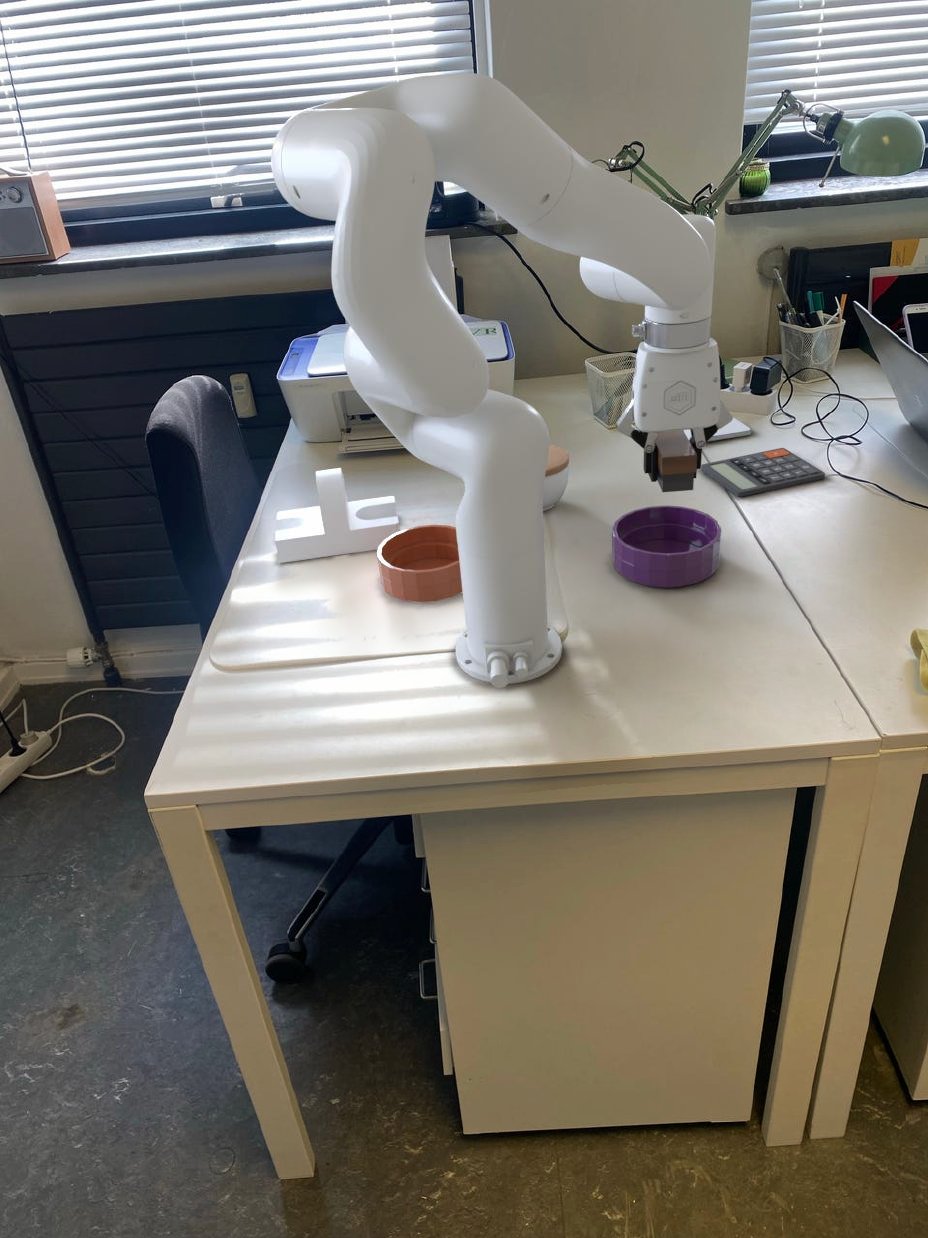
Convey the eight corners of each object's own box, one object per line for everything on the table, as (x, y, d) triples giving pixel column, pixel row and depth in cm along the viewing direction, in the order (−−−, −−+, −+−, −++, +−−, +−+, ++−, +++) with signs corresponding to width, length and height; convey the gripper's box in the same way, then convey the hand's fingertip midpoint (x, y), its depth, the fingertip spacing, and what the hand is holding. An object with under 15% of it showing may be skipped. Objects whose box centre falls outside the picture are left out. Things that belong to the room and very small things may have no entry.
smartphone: (753, 430, 155) (673, 442, 153) (753, 436, 156) (673, 449, 153) (732, 416, 161) (655, 428, 159) (732, 422, 162) (655, 434, 159)
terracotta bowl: (478, 601, 118) (475, 567, 115) (378, 608, 118) (373, 575, 116) (477, 552, 129) (474, 521, 126) (385, 559, 129) (380, 528, 127)
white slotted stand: (279, 563, 131) (264, 494, 125) (281, 533, 139) (267, 467, 133) (402, 545, 133) (392, 476, 127) (397, 517, 141) (387, 450, 135)
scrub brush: (695, 490, 111) (697, 454, 109) (661, 493, 112) (662, 457, 109) (681, 463, 119) (682, 428, 116) (649, 465, 119) (650, 431, 116)
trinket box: (518, 485, 147) (515, 430, 142) (580, 493, 142) (579, 437, 137) (489, 513, 139) (485, 456, 134) (554, 523, 134) (552, 465, 129)
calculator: (826, 472, 138) (738, 491, 136) (825, 478, 139) (738, 497, 136) (783, 446, 148) (700, 463, 145) (782, 451, 148) (700, 468, 146)
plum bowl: (730, 585, 116) (733, 550, 113) (620, 593, 116) (621, 558, 113) (705, 535, 127) (707, 501, 125) (606, 542, 128) (606, 509, 125)
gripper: (609, 347, 102) (609, 493, 112) (759, 333, 101) (746, 482, 111) (600, 329, 109) (601, 469, 118) (741, 316, 108) (730, 458, 118)
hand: (671, 474), depth 115 cm, fingers closed on scrub brush, 4 cm apart
